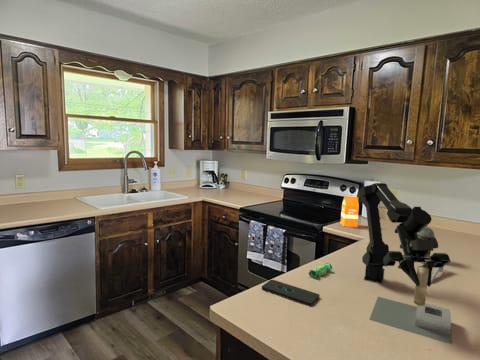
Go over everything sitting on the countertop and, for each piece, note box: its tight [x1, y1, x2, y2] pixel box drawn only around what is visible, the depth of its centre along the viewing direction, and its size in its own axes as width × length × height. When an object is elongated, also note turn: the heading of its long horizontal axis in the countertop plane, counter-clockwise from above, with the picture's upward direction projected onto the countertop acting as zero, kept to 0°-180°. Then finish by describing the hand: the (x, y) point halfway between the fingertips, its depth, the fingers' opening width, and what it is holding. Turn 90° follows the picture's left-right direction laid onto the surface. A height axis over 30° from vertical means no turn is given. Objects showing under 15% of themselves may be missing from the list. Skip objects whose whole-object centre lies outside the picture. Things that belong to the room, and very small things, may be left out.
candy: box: [308, 262, 333, 279], centre depth 134 cm, size 12×3×4 cm
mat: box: [369, 296, 453, 345], centre depth 102 cm, size 22×18×1 cm
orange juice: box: [340, 196, 360, 228], centre depth 212 cm, size 8×9×20 cm
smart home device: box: [261, 279, 320, 307], centre depth 117 cm, size 8×2×20 cm
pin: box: [413, 265, 429, 306], centre depth 98 cm, size 3×3×12 cm
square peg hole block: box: [415, 302, 452, 336], centre depth 99 cm, size 9×9×4 cm
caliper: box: [431, 267, 444, 284], centre depth 135 cm, size 20×1×6 cm, turn 135°
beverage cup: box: [417, 225, 436, 257], centre depth 155 cm, size 7×7×20 cm
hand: (423, 285), depth 96 cm, fingers closed on pin, 3 cm apart
